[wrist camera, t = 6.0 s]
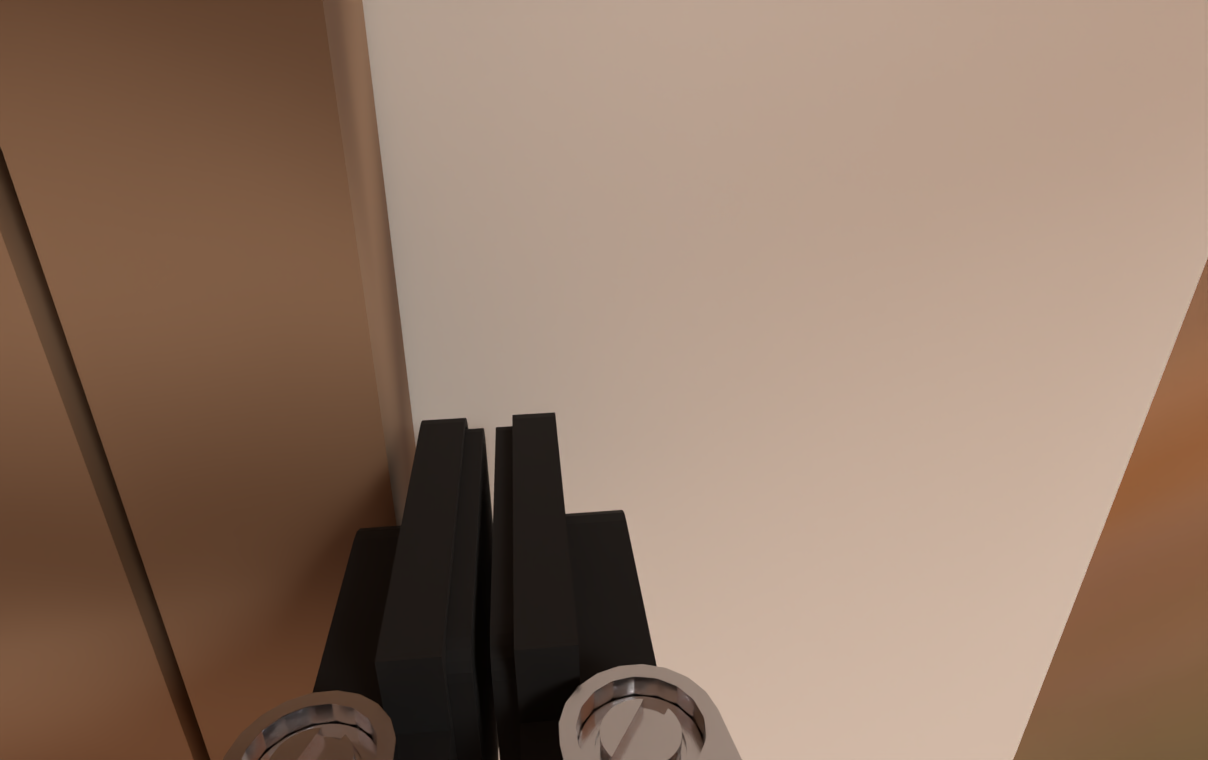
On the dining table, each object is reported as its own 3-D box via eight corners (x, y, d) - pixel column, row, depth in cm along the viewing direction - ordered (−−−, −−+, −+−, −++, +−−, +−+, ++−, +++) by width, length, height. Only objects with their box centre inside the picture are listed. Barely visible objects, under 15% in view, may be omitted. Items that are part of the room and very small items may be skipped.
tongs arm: (-183, -909, 6) (-483, -1264, 4) (258, -868, 6) (156, -1182, 4) (315, 885, 17) (292, 998, 15) (466, 872, 17) (460, 981, 15)
